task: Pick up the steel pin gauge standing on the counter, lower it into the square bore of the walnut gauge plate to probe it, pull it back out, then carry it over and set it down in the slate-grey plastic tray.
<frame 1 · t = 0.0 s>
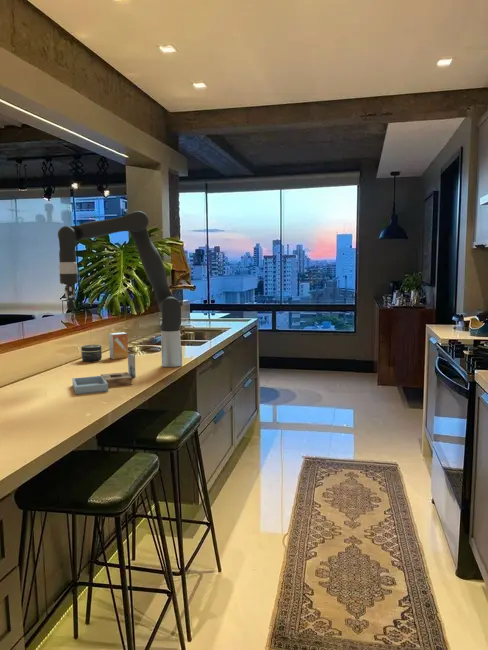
hand: (70, 309, 222), 29 cm above the worktop, fingers open, 8 cm apart
small box: (119, 358, 264), on the worktop
gauge plate: (116, 382, 208), on the worktop
pin: (132, 377, 219), on the worktop
jar: (92, 361, 257), on the worktop
tray: (90, 388, 200), on the worktop
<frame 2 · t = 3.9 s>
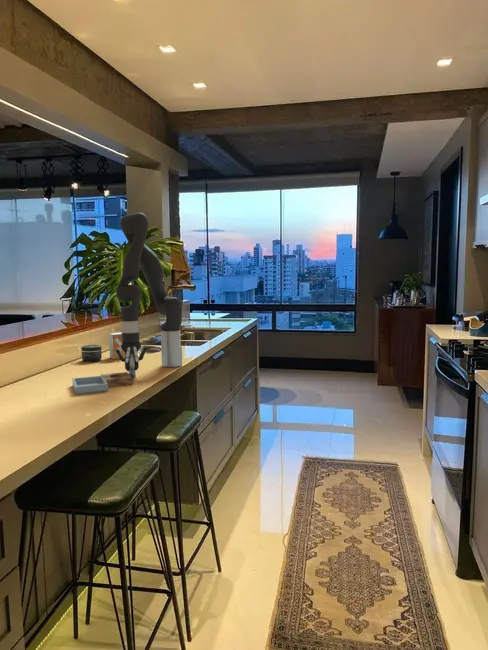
hand: (131, 370, 218), 3 cm above the worktop, fingers closed on pin, 3 cm apart
pin: (132, 377, 219), on the worktop, touching gripper
everything else where it was.
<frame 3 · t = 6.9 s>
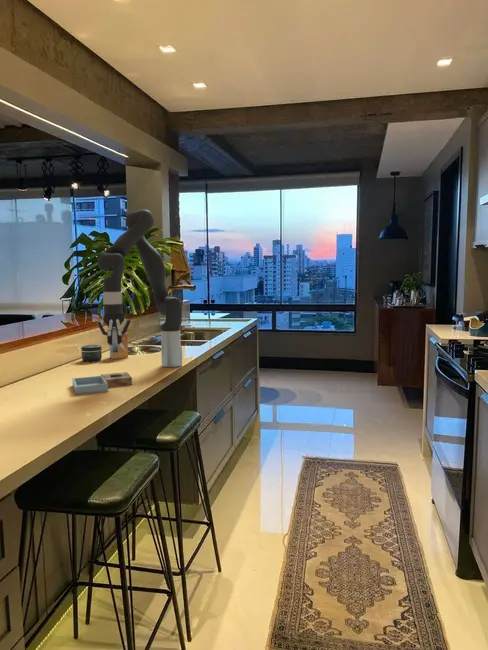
hand: (114, 344, 206), 16 cm above the worktop, fingers closed on pin, 3 cm apart
pin: (114, 351, 207), point 13 cm above the worktop, touching gripper
everything else where it was.
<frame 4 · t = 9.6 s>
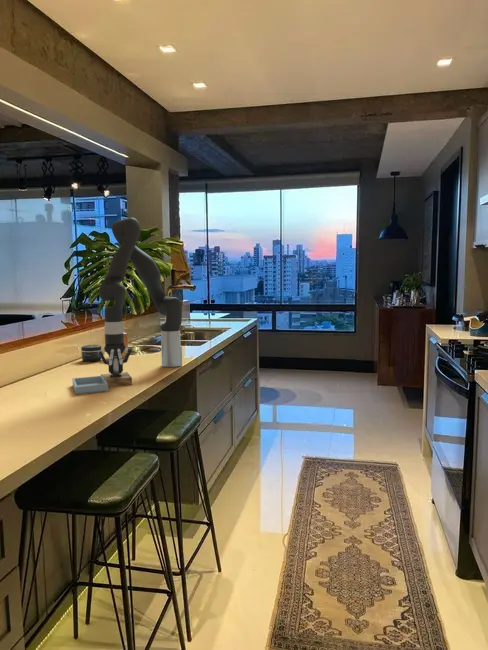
hand: (115, 373, 208), 4 cm above the worktop, fingers closed on pin, 3 cm apart
pin: (116, 380, 208), point 1 cm above the worktop, touching gripper
everything else where it was.
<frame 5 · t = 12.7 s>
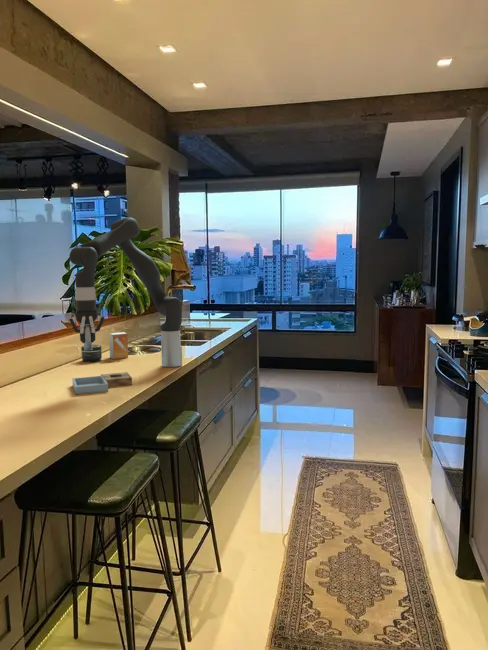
hand: (87, 342, 197), 19 cm above the worktop, fingers closed on pin, 3 cm apart
pin: (88, 350, 198), point 16 cm above the worktop, touching gripper
everything else where it was.
when the fingers open (5 cm above the worktop, at t = 15.4 s): pin stays where it is, resting on tray.
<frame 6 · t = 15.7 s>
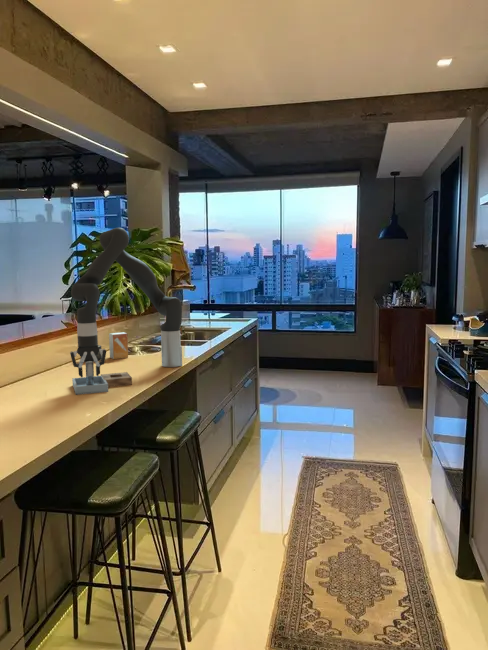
hand: (89, 376, 199), 5 cm above the worktop, fingers open, 5 cm apart
pin: (90, 386, 200), point 1 cm above the worktop, touching tray
everything else where it was.
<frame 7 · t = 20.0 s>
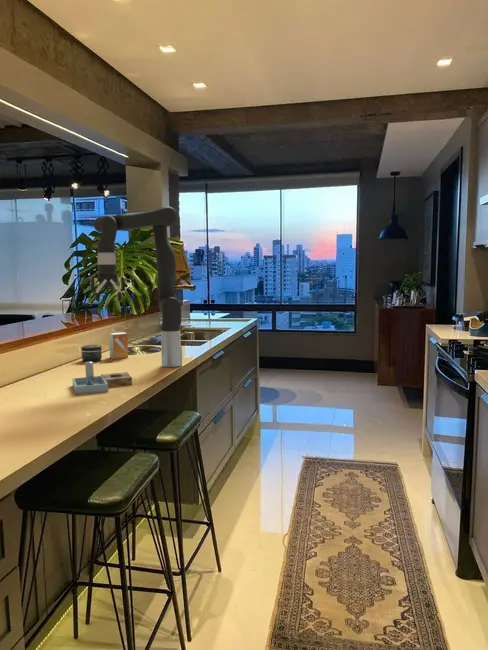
hand: (108, 301, 216), 33 cm above the worktop, fingers open, 8 cm apart
nothing on the worktop moved.
at the end: pin inside the target area on the tray (0.1 cm from its centre), point 0.6 cm above the tray's base; the gripper is holding nothing; pin inside the target area on the gauge plate (12.0 cm from its centre), point 0.6 cm above the gauge plate's base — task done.
